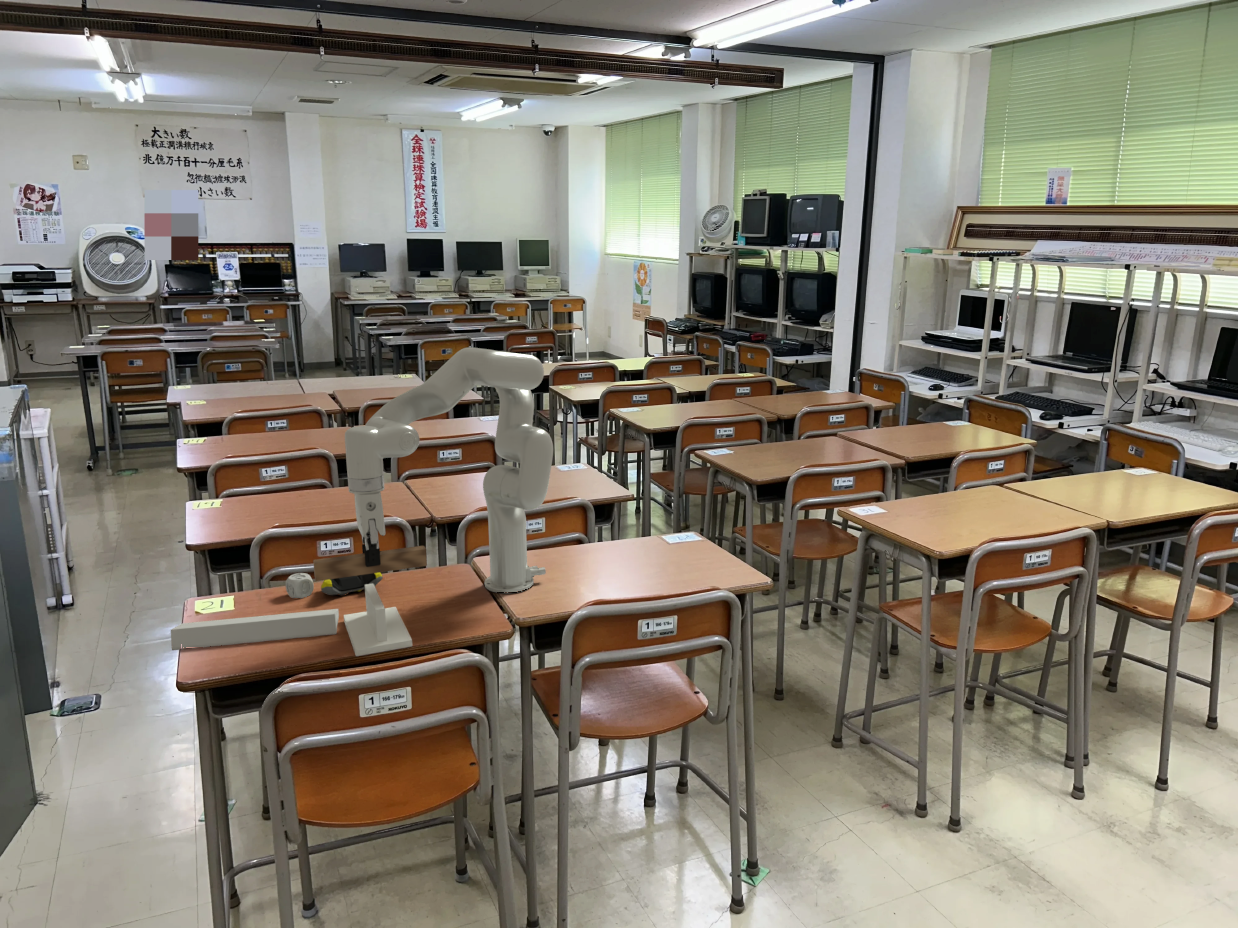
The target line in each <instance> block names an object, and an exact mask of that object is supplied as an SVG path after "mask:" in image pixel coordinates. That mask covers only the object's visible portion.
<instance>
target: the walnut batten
mask: <svg viewBox="0 0 1238 928" xmlns="http://www.w3.org/2000/svg"><path fill="white" fill-rule="evenodd" d="M427 559H428V558H427V548H426V546H425V545H419V546H418V545H417V546H416V545H415V546H409V547H401V548H394V549H387V550H381V551H380V562H381V564H380V565H378V566H371V567H366V565H365V553H363V552H362V553H356V554H348V555H341V556H340V555H339V556H334V557H325V558H318V559H317V558H316V559H313V561H312V562H313V563H312V564H313V572H314V573H313V574H314V579H315V582H319V581H321V582H322V581H324V580H328V579H335V578H343V577H350V576H357V575H364V574H371V573H378V572H380V573H385V572H391V571H399V570H405V569H406V570H407V569H414V568H421V567H427V566H428V560H427Z"/></svg>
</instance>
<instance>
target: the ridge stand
mask: <svg viewBox="0 0 1238 928" xmlns="http://www.w3.org/2000/svg"><path fill="white" fill-rule="evenodd" d="M364 594H365V597H364V598H365V607H366V611H361V612H355V613H354V612H353V613H348V614H343V622H344V625H345V628H346V631H347V633H348V637H349V639H350V643H351V645H352V649H353V653H354V654H355V657H359V656H367V655H371V654H377V653H382V652H388V651H389V652H390V651H393V650H399V649H405V648H410V647H413V639H412V637H411V635H410V633H409V631H408V629H407V627H406V625H405V623H404V621H403V619H402V617H401V615H400V613H399V610H398V609H397V607H396V606H392V607H386V608H385V605H384V603H383V601H382V599H381V597H380V594H379V593H378V590H377V588H376V586H374V584H373V583H372V584H366V585H365V589H364Z"/></svg>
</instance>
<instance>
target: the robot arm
mask: <svg viewBox="0 0 1238 928" xmlns="http://www.w3.org/2000/svg"><path fill="white" fill-rule="evenodd" d="M544 375H545V369H544V365H543V363H542V362H541V360H540V359H539V358H538V357H536V356H534V355H532V354H526V353H518V352H517V353H516V352H512V351H511V352H510V351H500V350H494V349H489V348H488V349H487V348H480V347H479V348H478V347H470V346H469V347H464V348H462V349H460V350H458V351H456V353H455V354H454V355H452V356H451V357H450V358H449V359H448V360H447V361H446V362H445V363H444V364H443V365H441V367H440V368H439V369H437V371H435V372H434V373H433V374H432V375H431V376H430V377H429V378H428V379H426V381H424V382H423V383H422V384H419V385H417V386H415V387H413V388H412V389H409V390H408V391H406V392H404V393H402V394H399V395H397V396H396V397H394V398H392V399H391V400H389V401H388V402H386V403H385V404H384V405H383V406H382V407H380V409H378V410H377V411H376V412H375V413H374V414H373V415H372V416H371V417H370V418H369V419H368V421H367V422H366V423H365V425H358V426H357V425H356V426H353V427H350V428H347V429H346V431H345V432H344V445H345V457H346V458H345V460H346V461H345V462H346V471H347V474H346V475H347V486H348V487H347V488H348V492H349V493H350V494H353V495H354V508H355V516H356V517H355V518H356V523H357V528H358V530H359V533H360V535H361V541H362V544H361V549H362V553H365V565H366V567H371V566H378V565H380V564H381V562H380V549H381V548H380V543H379V535H380V536H383V537H385V535H386V526H385V517H384V507H383V499H382V494H381V493H382V491H384V490H385V478H384V461H383V459H386V458H387V459H388V458H403V457H407V456H410V455H411V454H413V453H414V452H415V451H416V450H417V449H418V447H419V445H420V436H419V432H418V431H417V430H416V428H415V427H413V426H412V425H411V424H412V423H413V422H416V421H418V420H421V419H424V418H428V417H435V416H438V415H441V414H445V413H448V412H449V411H450V410H452V409H453V408H454V407H455V406H456V405H457V404H459V402H460V401H461V400H463V398H464V397H465V396H466V395H467V394H468V393H469V392H470V391H471V390H473V388H475V387H476V386H478V385H479V386H483V387H489V388H490V387H491V388H495V390H496V394H498V397H499V398H498V399H499V413H498V418H497V419H498V420H497V425H496V431H495V433H496V434H495V439H494V450H495V453H496V455H497V456H499V457H500V458H502V459H504V460H507V461H510V462H514V463H517V464H519V467H517V466H516V467H515V466H511V465H507V464H499V465H498V464H497V465H495V466H492V467H490V468H489V469H488V470H487V471H486V473H485V475H484V477H483V480H482V481H483V482H482V490H483V496H484V499H485V503H486V510H487V521H488V546H489V574H490V576H488V577H487V578H485V580H484V587H485V589H487V591H490V592H493V593H497V592H504V593H503V594H509V593H508V592H517V591H521V592H523V591H522V590H525V589H527V590H529V589H531V588H530V587H531V586H532V585H533V586H534V582H535V581H534V577H535V576H543V575H546V574H547V573H546V571H547V570H546V567H544V566H543V567H538V565H534V566H533V565H532V566H529V565H528V550H527V549H528V548H527V547H528V542H527V517H526V512H525V511H533V510H536V509H538V508H540V507H541V505H543V503H544V502H545V499H546V497H547V494H548V491H549V490H548V489H549V483H550V478H551V477H550V476H551V470H552V464H553V458H554V457H553V456H554V444H553V441H552V440H553V439H552V437H551V436H550V434H549V432H547V431H546V430H545V429H543V428H540V427H537V426H533V420H534V412H535V410H534V409H535V402H534V396H533V393H532V391H531V390H534V389H535V388H537V387H539V386H540V384H541V383H542V381H543V379H544V377H545V376H544ZM533 586H532V587H533ZM528 588H529V589H528ZM525 591H526V590H525ZM505 592H507V593H505ZM517 593H518V592H517Z"/></svg>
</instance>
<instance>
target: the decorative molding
mask: <svg viewBox="0 0 1238 928" xmlns="http://www.w3.org/2000/svg"><path fill="white" fill-rule="evenodd" d="M339 612H340V611H339V608H333V609H322V610H320V609H319V610H311V611H300V612H298V611H297V612H290V613H280V614H268V615H267V614H265V615H260V616H259V615H258V616H247V617H236V618H235V617H234V618H227V619H226V618H225V619H216V620H215V619H214V620H205V621H195V622H183V623H181V624H178V625H177V626H175V627H173V628H171V629H170V640H171V641H170V642H171V651H179V650H180V647H181V644H182V650H184V649H183V647H184V648H186V647H203V648H209V647H210V646H211V647H220V646H221V645H222V646H230V645H239V644H250V643H259V642H260V643H261V642H262V643H263V642H267V641H268V642H269V641H281V640H291V639H297V638H299V639H301V638H313V637H319V636H332V635H337V631H338V623H339V617H340V613H339ZM180 651H181V650H180Z"/></svg>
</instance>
